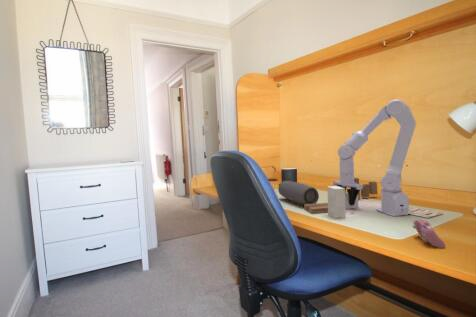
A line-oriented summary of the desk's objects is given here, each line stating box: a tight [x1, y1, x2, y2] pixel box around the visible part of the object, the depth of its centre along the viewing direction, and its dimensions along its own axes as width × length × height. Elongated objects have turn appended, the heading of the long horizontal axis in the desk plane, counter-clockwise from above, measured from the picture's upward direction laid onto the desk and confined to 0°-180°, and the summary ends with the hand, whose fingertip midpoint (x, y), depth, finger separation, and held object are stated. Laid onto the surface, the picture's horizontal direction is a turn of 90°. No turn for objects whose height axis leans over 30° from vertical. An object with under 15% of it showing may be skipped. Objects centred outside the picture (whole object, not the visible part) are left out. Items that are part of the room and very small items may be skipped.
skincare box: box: [327, 185, 346, 220], centre depth 104 cm, size 6×4×12 cm
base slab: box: [303, 202, 328, 215], centre depth 113 cm, size 8×14×2 cm, turn 99°
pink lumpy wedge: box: [412, 219, 446, 249], centre depth 76 cm, size 10×5×7 cm, turn 163°
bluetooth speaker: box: [277, 180, 320, 206], centre depth 129 cm, size 23×9×10 cm, turn 20°
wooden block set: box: [354, 177, 378, 200], centre depth 134 cm, size 18×9×10 cm, turn 84°
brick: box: [345, 192, 359, 210], centre depth 117 cm, size 4×8×6 cm, turn 99°
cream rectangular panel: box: [345, 211, 356, 215], centre depth 108 cm, size 6×8×1 cm
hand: (347, 203), depth 117 cm, fingers closed on brick, 5 cm apart
